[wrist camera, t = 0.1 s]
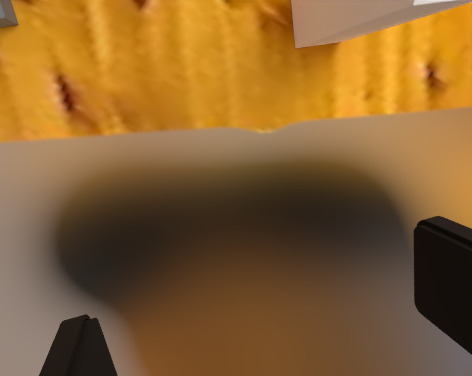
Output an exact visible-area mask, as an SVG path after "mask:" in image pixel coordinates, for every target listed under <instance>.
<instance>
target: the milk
mask: <svg viewBox="0 0 472 376" xmlns="http://www.w3.org/2000/svg"><path fill="white" fill-rule="evenodd" d="M470 2H472V0H291V6H292V18H293V29H294V41H295V48H302V47H309V46H317V45H324V44H331V43H339V42H343V41H346V40H350V39H353V38H356V37H360V36H363V35H366V34H369V33H373V32H376V31H379V30H382V29H386V28H389V27H392V26H395V25H399V24H402V23H405V22H408V21H412V20H415V19H418V18H421V17H425V16H428V15H431V14H434V13H438V12H441V11H444V10H447V9H451V8H454V7H457V6H460V5H464V4H467V3H470Z"/></svg>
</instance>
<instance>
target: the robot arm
mask: <svg viewBox="0 0 472 376" xmlns="http://www.w3.org/2000/svg"><path fill="white" fill-rule="evenodd" d="M414 298H415V299H414V300H415V305H416V308H417V309H418V311H419V312H420V313H421V314H422V315H423V316H424V317H426V318H427V319H428V320H429V321H431V322H432V323H433V324H434V325H436V326H437V327H438V328H439V329H440V330H442V331H443V332H444V333H445V334H447V335H448V336H449V337H450V338H452V339H453V340H454V341H455V342H457V343H458V344H459V345H461V346H462V347H463V348H464V349H465V350H467V351H468V352H469V353H470V354H472V229H471V228H468V227H466V226H463V225H461V224H458V223H456V222H454V221H451V220H449V219H446V218H444V217H441V216H436V217H432V218H428V219H425V220H421V221H420V222H418V224H417V227H416V228H415V229H414ZM39 376H117V373H116V370H115V367H114V364H113V361H112V359H111V355H110V352H109V350H108V347H107V344H106V341H105V338H104V335H103V332H102V329H101V327H100V324H99V321H98V319H97V318H93V319H90V317H89V316H88V315H86V314H85V315H82V316H79V317H75V318H71V319H68V320H64V321H62V323H61V324H60V327H59V329H58V331H57V334H56V336H55V339H54V341H53V343H52V346H51V348H50V351H49V353H48V355H47V358H46V360H45V363H44V365H43V367H42V370H41V372H40V375H39Z"/></svg>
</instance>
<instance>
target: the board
mask: <svg viewBox="0 0 472 376" xmlns="http://www.w3.org/2000/svg"><path fill="white" fill-rule="evenodd" d="M14 25H18V22H17V19H16V16H15V13H14V10H13V7H12V4H11V1H10V0H0V27H6V26H14Z"/></svg>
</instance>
